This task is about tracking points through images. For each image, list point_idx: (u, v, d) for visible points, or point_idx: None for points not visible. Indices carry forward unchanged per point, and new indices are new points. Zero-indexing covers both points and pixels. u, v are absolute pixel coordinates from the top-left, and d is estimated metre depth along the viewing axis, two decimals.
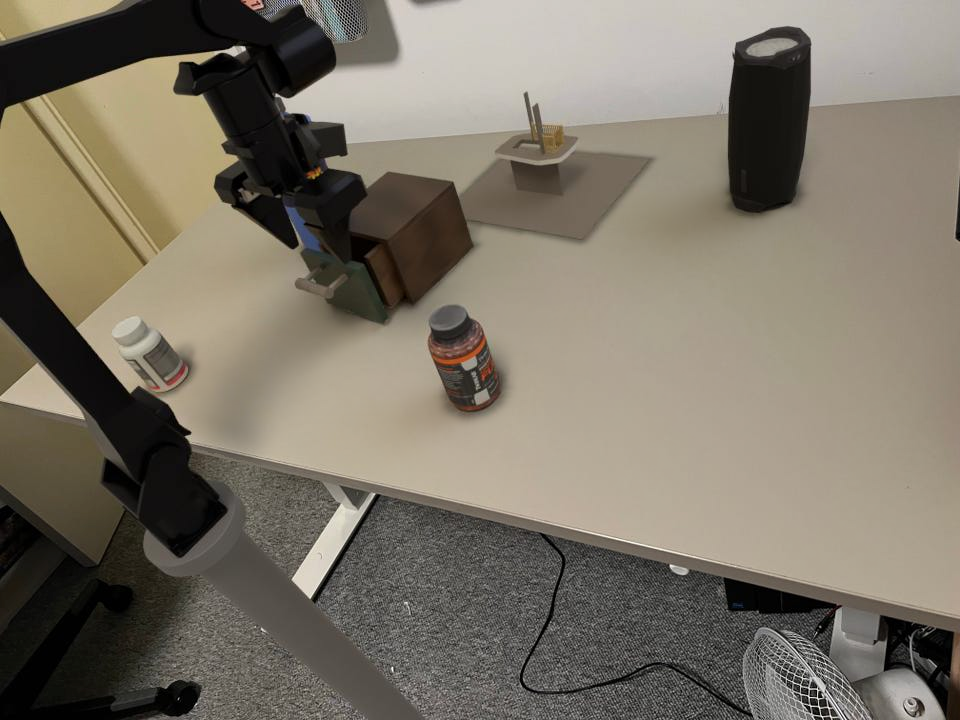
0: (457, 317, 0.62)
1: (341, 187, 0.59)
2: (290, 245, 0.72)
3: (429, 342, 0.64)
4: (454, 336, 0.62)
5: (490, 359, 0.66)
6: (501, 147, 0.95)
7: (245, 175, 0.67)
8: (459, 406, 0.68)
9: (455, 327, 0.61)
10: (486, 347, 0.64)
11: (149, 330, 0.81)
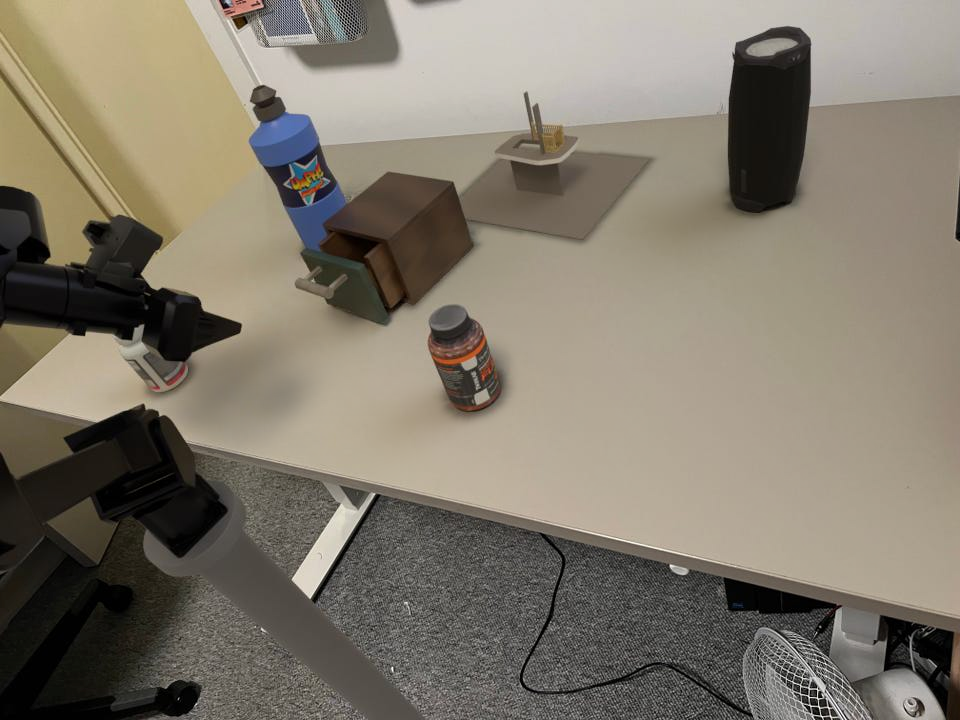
0: (457, 317, 0.62)
1: (169, 325, 0.56)
2: None
3: (429, 342, 0.64)
4: (454, 336, 0.62)
5: (490, 359, 0.66)
6: (501, 147, 0.95)
7: None
8: (459, 406, 0.68)
9: (455, 327, 0.61)
10: (486, 347, 0.64)
11: None
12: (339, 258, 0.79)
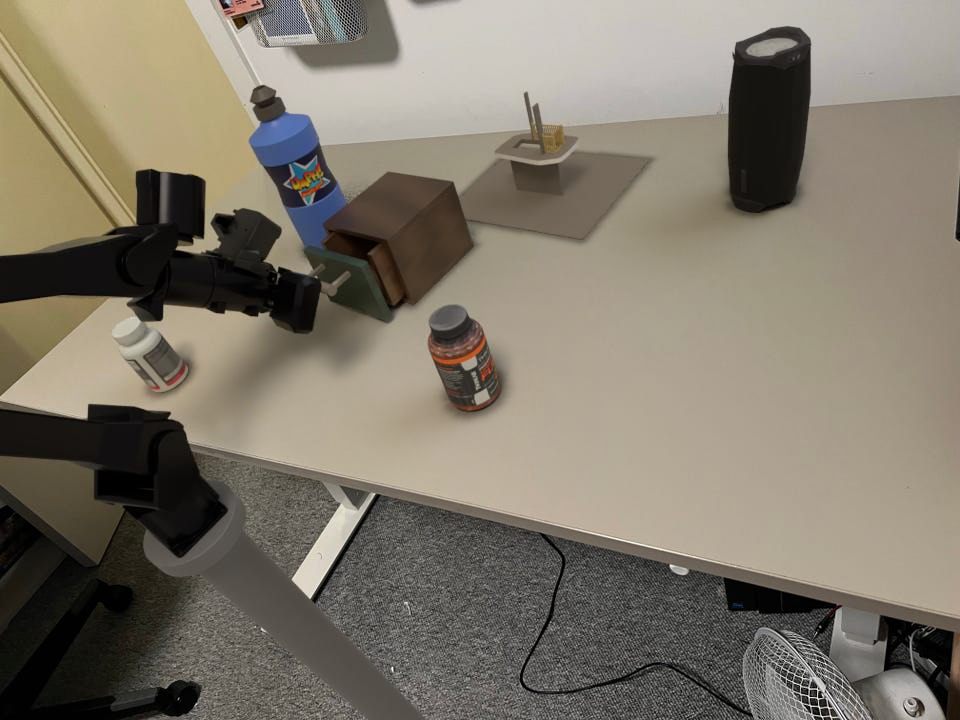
0: (457, 317, 0.62)
1: (299, 303, 0.66)
2: None
3: (429, 342, 0.64)
4: (454, 336, 0.62)
5: (490, 359, 0.66)
6: (501, 147, 0.95)
7: None
8: (459, 406, 0.68)
9: (455, 327, 0.61)
10: (486, 347, 0.64)
11: (149, 330, 0.81)
12: (342, 255, 0.79)
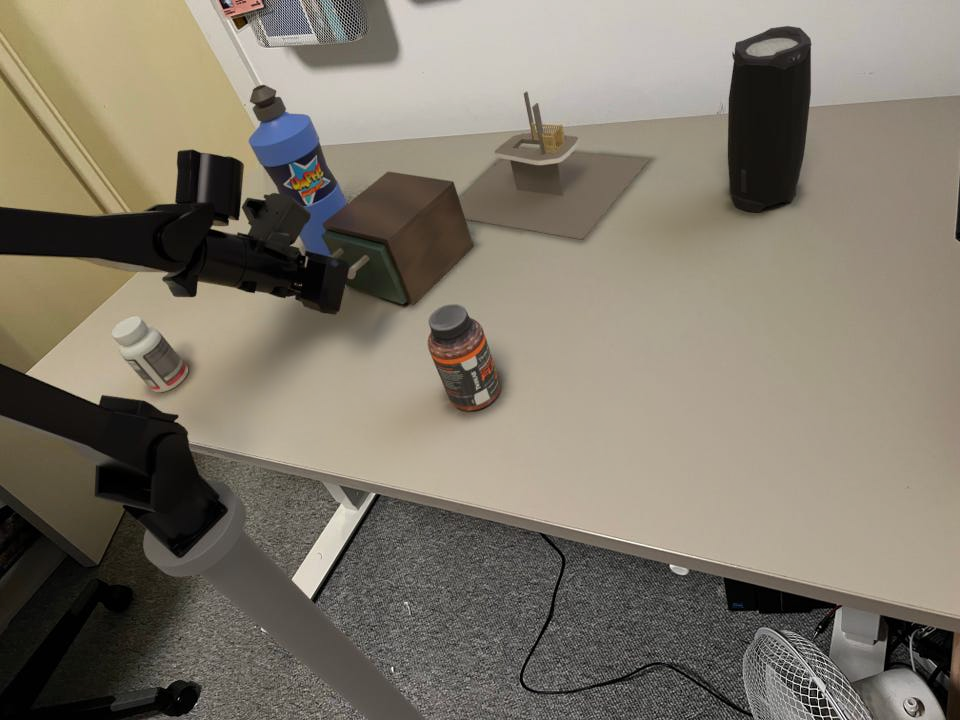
0: (457, 317, 0.62)
1: (328, 283, 0.68)
2: None
3: (429, 342, 0.64)
4: (454, 336, 0.62)
5: (490, 359, 0.66)
6: (501, 147, 0.95)
7: None
8: (459, 406, 0.68)
9: (455, 327, 0.61)
10: (486, 347, 0.64)
11: (149, 330, 0.81)
12: (361, 240, 0.80)
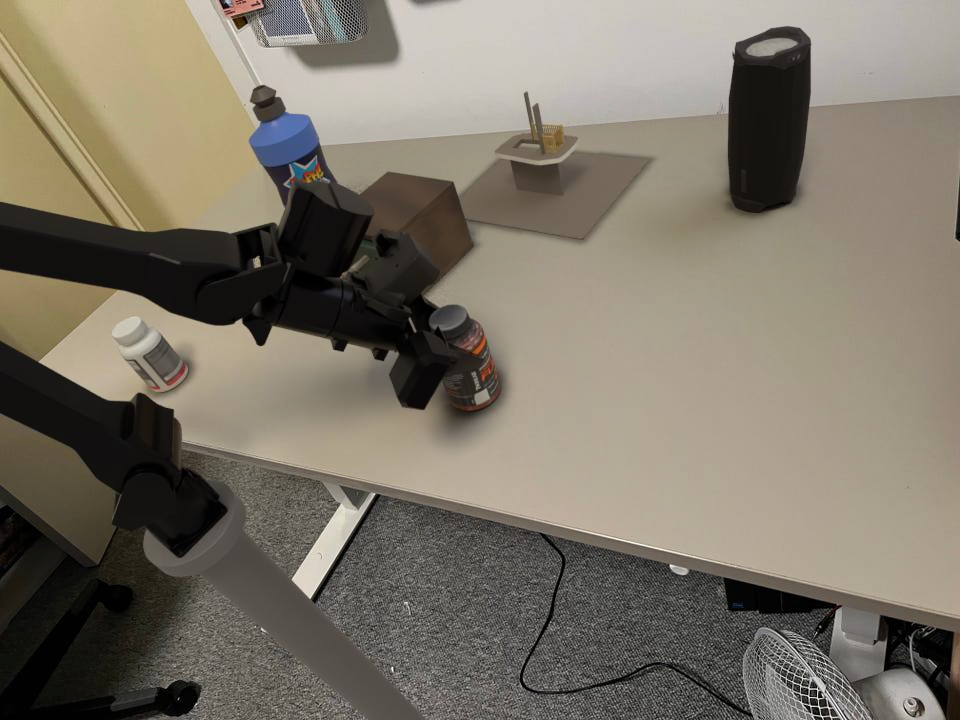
0: (457, 317, 0.62)
1: (414, 380, 0.53)
2: None
3: None
4: (454, 336, 0.62)
5: (490, 359, 0.66)
6: (501, 147, 0.95)
7: None
8: (459, 406, 0.68)
9: (455, 327, 0.61)
10: (486, 347, 0.64)
11: (149, 330, 0.81)
12: None
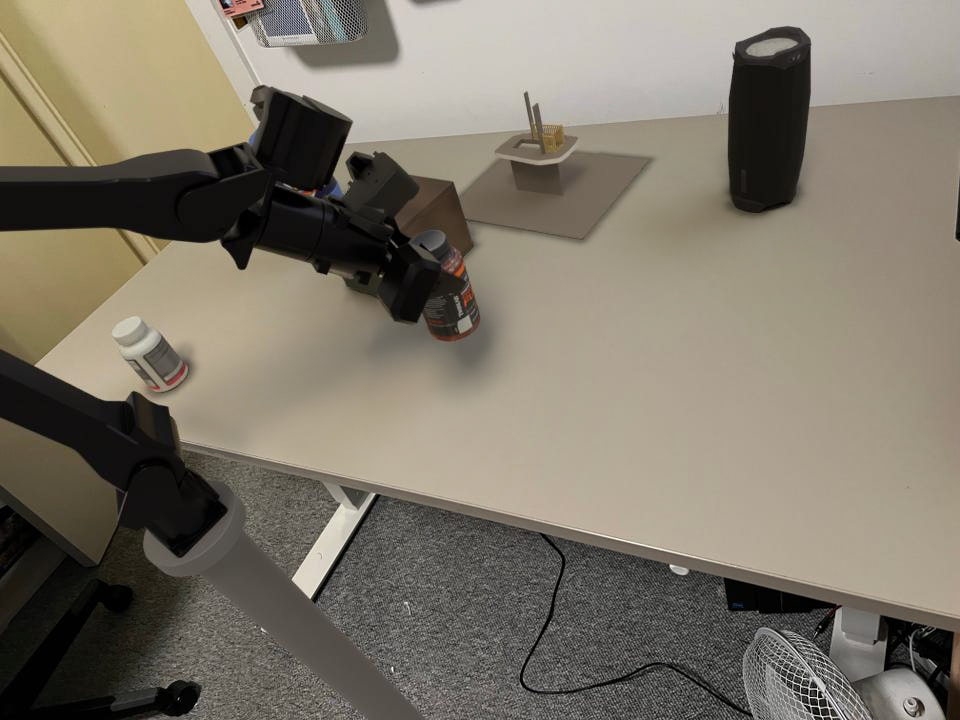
0: (436, 240, 0.62)
1: (406, 289, 0.53)
2: None
3: None
4: None
5: (470, 285, 0.66)
6: (501, 147, 0.95)
7: None
8: (442, 337, 0.67)
9: (436, 248, 0.61)
10: (466, 272, 0.65)
11: (149, 330, 0.81)
12: None
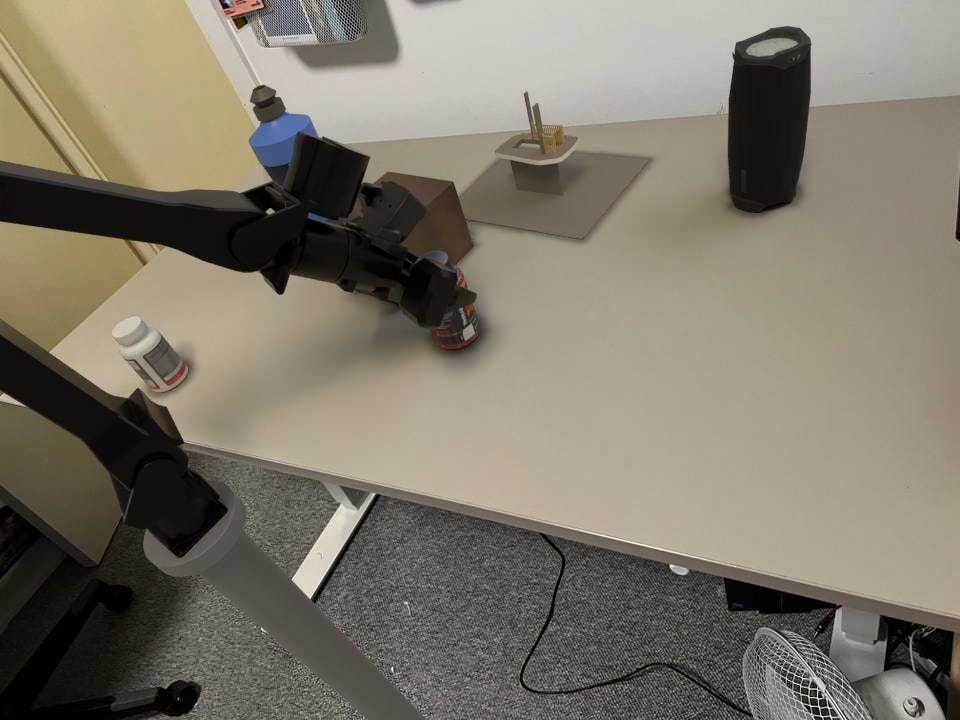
0: (440, 259, 0.70)
1: (430, 297, 0.60)
2: None
3: None
4: None
5: None
6: (501, 147, 0.95)
7: None
8: (449, 346, 0.75)
9: None
10: (466, 285, 0.73)
11: (149, 330, 0.81)
12: None
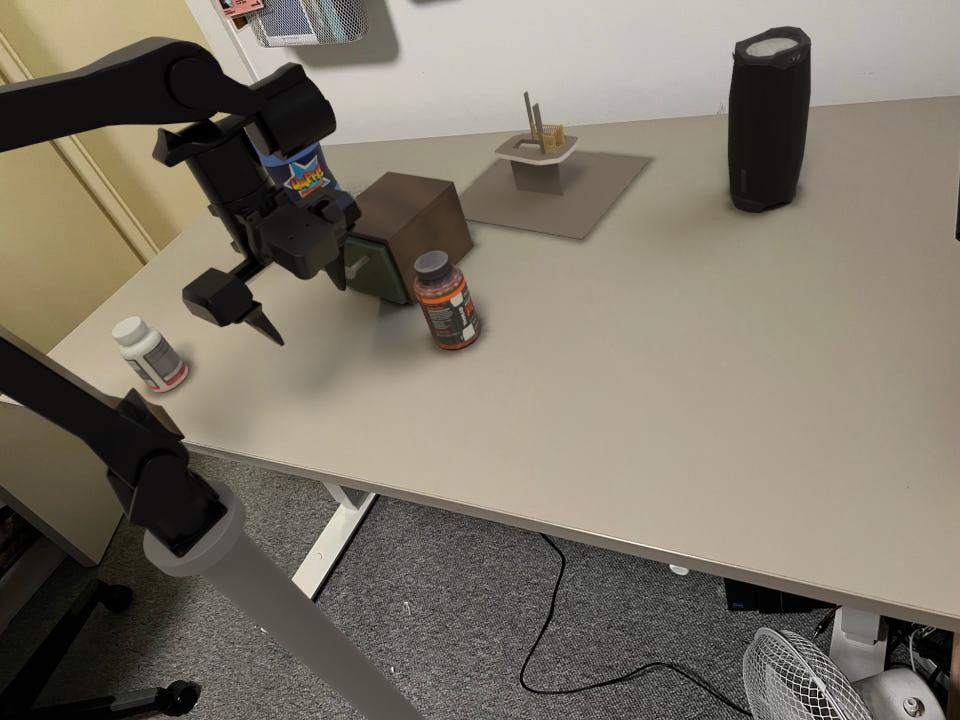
0: (440, 259, 0.70)
1: (194, 301, 0.56)
2: (335, 285, 0.69)
3: (417, 288, 0.71)
4: (441, 275, 0.69)
5: (470, 297, 0.74)
6: (501, 147, 0.95)
7: None
8: (449, 346, 0.75)
9: (441, 266, 0.69)
10: (466, 285, 0.73)
11: (149, 330, 0.81)
12: (361, 240, 0.80)
